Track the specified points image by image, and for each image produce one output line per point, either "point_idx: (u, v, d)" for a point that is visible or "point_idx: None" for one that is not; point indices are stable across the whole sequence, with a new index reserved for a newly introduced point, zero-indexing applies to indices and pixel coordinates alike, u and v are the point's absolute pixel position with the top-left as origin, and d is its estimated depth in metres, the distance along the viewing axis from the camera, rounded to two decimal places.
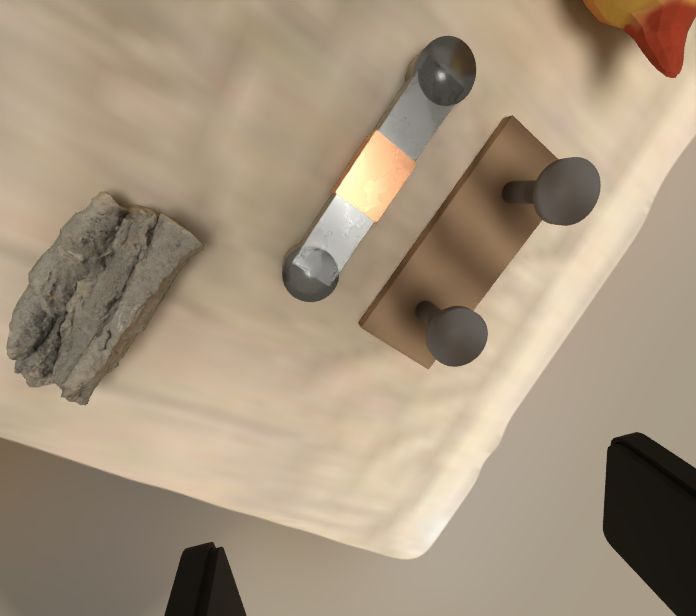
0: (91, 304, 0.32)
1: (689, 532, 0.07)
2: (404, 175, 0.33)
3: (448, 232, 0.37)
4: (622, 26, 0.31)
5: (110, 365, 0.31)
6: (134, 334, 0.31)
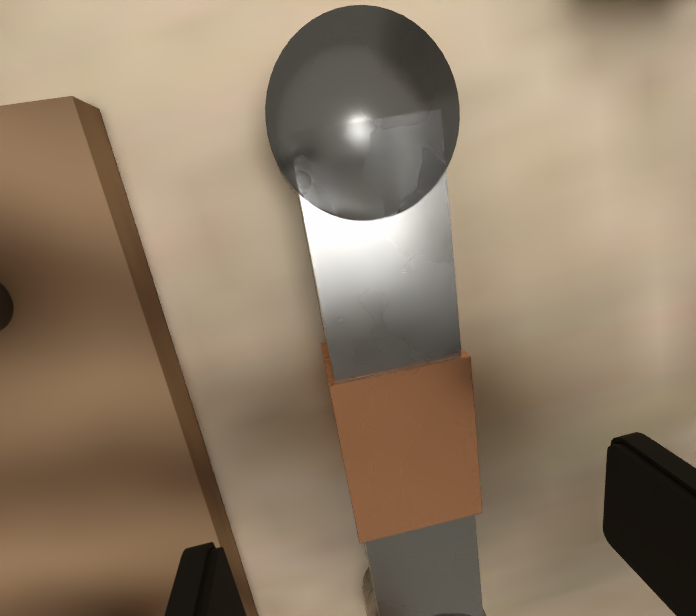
0: None
1: (689, 532, 0.07)
2: (362, 507, 0.13)
3: (150, 485, 0.14)
4: None
5: None
6: None
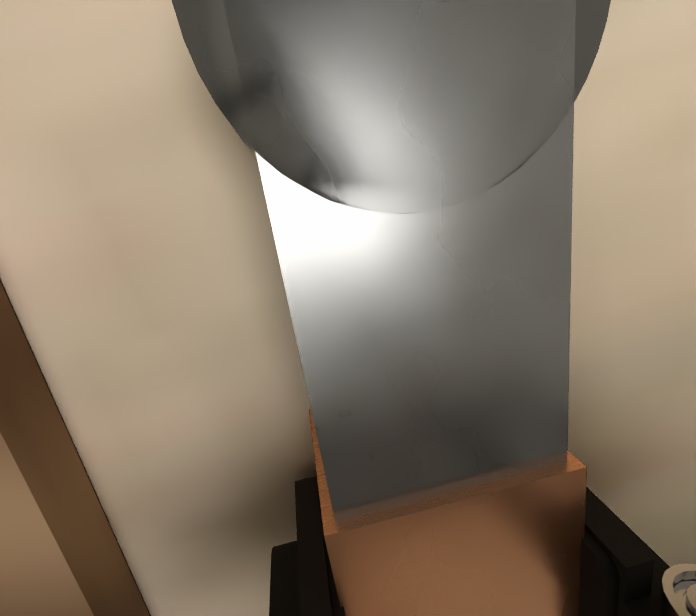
0: None
1: None
2: None
3: None
4: None
5: None
6: None
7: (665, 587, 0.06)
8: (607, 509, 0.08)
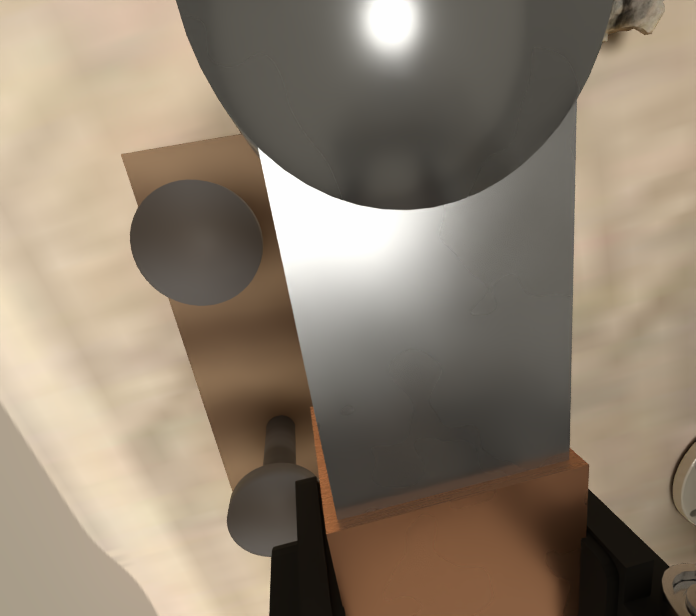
0: None
1: None
2: None
3: None
4: None
5: None
6: None
7: (665, 587, 0.06)
8: (607, 509, 0.08)
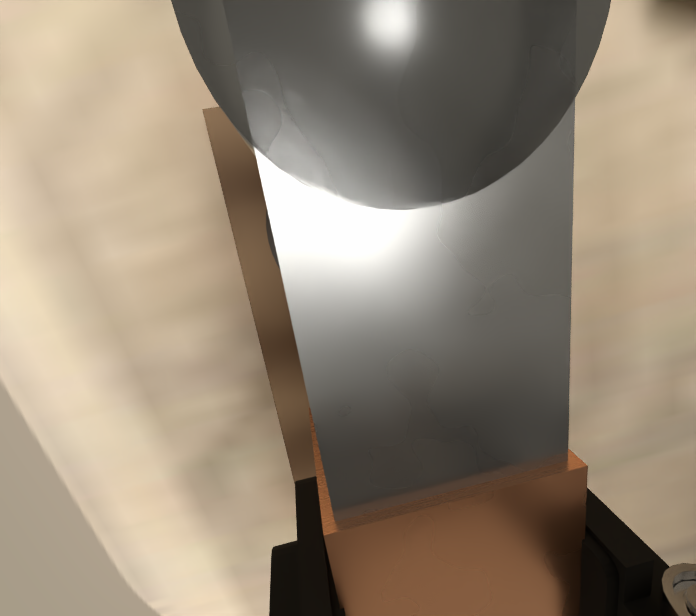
0: None
1: None
2: None
3: None
4: None
5: None
6: None
7: (665, 587, 0.06)
8: (607, 509, 0.08)
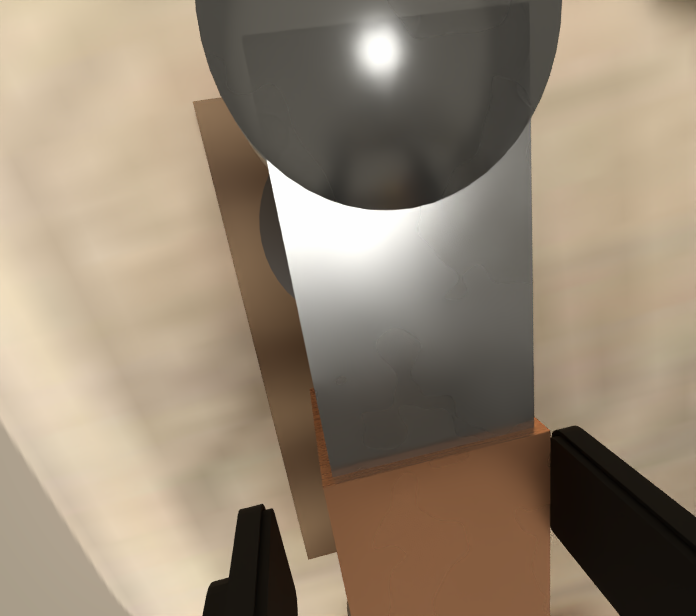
0: None
1: (610, 517, 0.08)
2: None
3: None
4: None
5: None
6: None
7: None
8: None
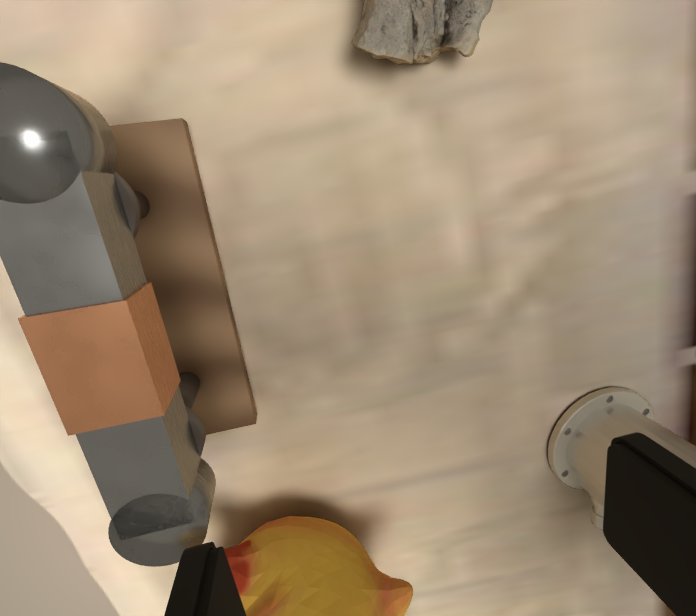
0: None
1: (689, 532, 0.07)
2: (64, 408, 0.18)
3: (203, 300, 0.29)
4: (251, 539, 0.33)
5: None
6: None
7: None
8: None
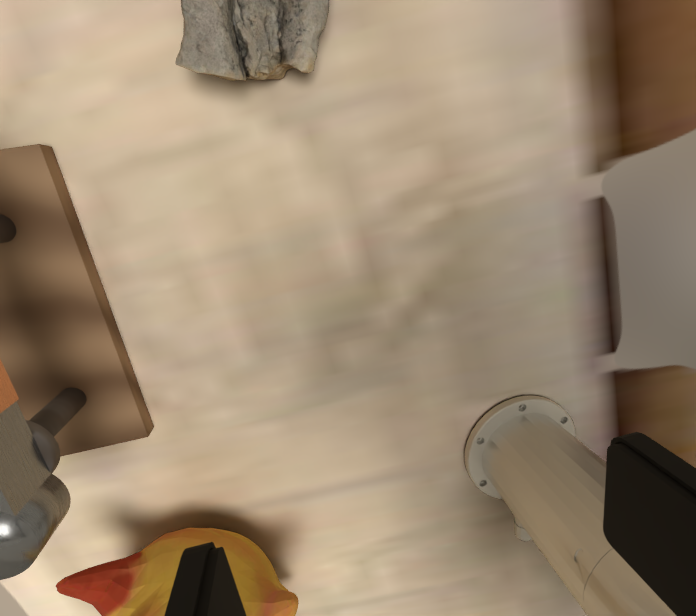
0: None
1: (689, 532, 0.07)
2: None
3: (80, 317, 0.30)
4: (143, 551, 0.33)
5: None
6: None
7: None
8: None
